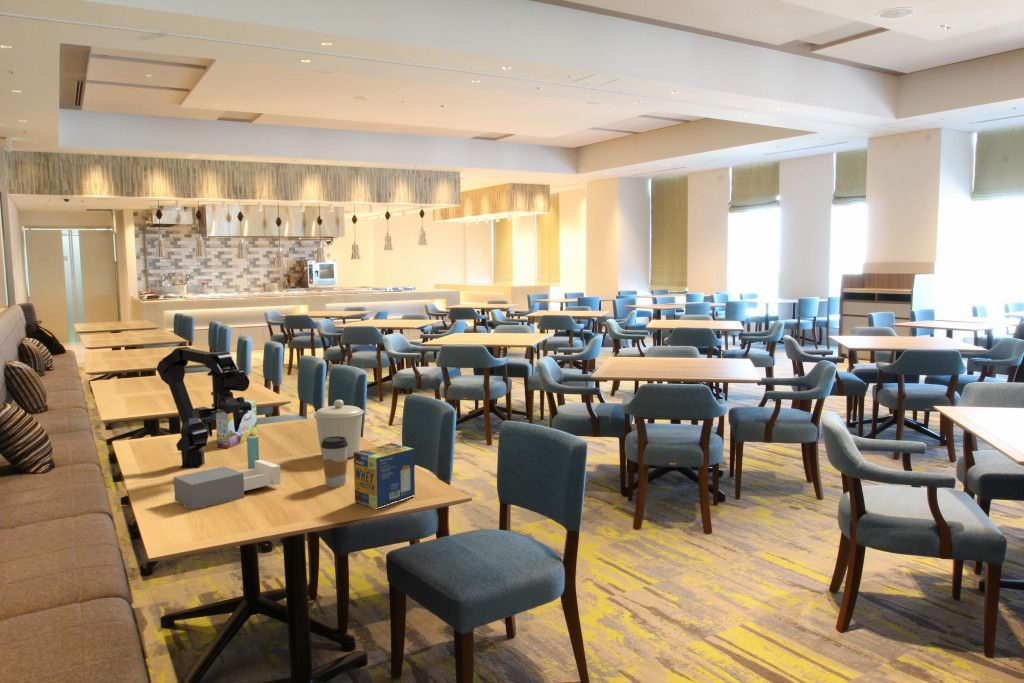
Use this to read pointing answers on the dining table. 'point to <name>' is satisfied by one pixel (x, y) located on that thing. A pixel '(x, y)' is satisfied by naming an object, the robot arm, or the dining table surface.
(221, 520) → the dining table surface
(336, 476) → the coffee cup
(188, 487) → the carton sleeve
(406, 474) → the protein box
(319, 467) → the dining table surface
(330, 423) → the canister
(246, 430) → the snack box
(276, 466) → the teal white angled piece
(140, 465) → the dining table surface
